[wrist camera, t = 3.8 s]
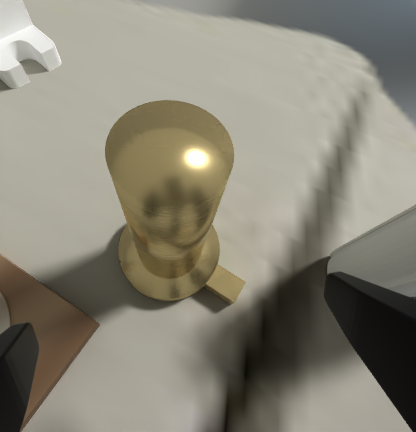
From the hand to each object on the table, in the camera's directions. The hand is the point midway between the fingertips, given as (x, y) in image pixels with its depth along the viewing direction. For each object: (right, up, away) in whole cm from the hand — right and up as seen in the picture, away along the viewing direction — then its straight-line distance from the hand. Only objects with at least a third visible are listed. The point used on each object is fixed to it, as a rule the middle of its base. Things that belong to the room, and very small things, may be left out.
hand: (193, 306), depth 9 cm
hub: (-1, -1, +12) cm, 13 cm away
